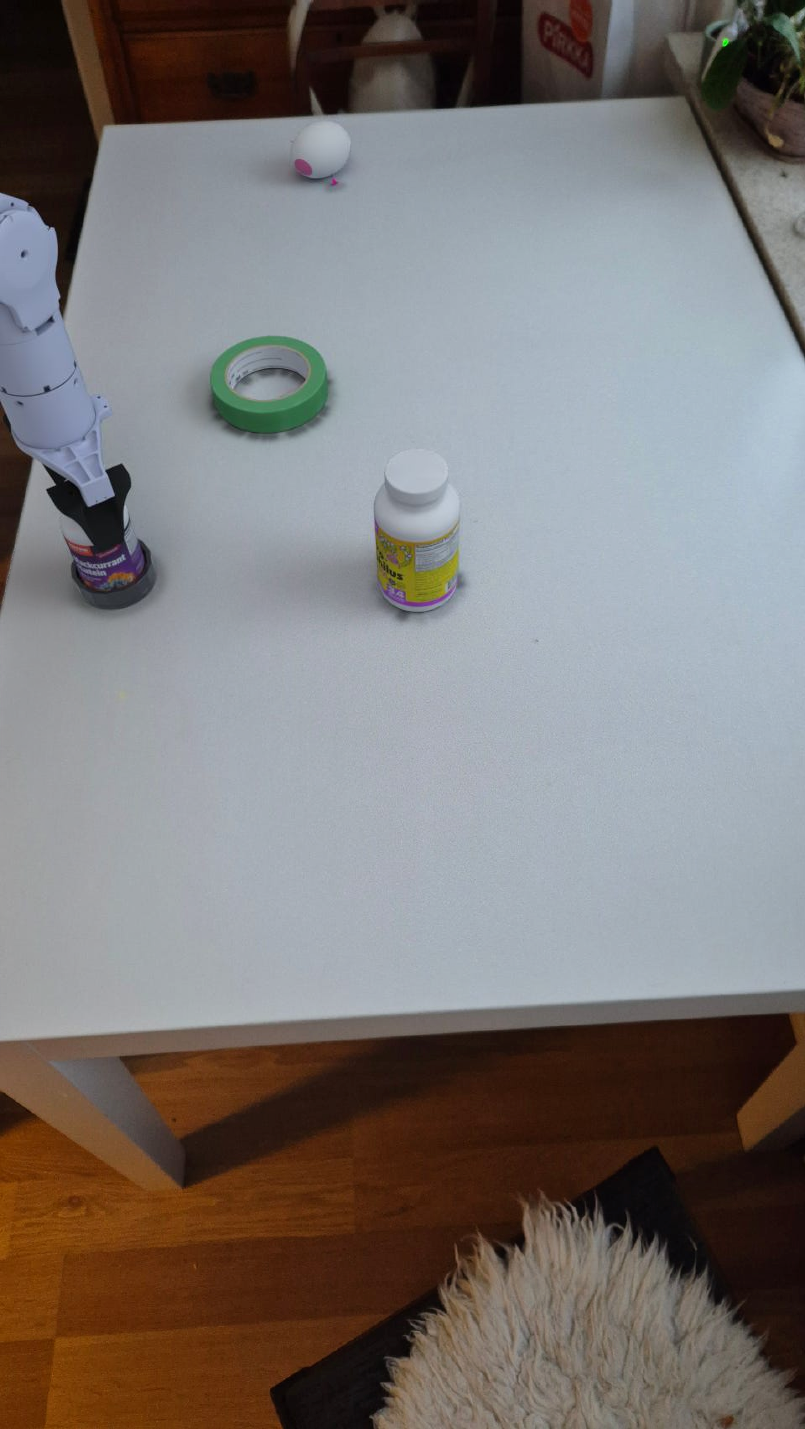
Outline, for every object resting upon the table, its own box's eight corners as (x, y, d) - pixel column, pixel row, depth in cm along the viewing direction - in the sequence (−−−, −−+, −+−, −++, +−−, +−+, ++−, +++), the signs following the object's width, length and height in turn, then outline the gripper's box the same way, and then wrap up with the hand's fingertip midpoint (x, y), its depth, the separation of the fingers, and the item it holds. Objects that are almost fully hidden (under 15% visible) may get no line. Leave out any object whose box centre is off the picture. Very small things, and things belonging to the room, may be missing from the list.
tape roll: (302, 443, 94) (299, 421, 92) (195, 420, 96) (189, 397, 94) (344, 370, 100) (342, 347, 97) (242, 349, 102) (238, 326, 100)
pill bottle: (80, 601, 83) (42, 518, 75) (87, 553, 86) (51, 467, 78) (145, 597, 83) (114, 514, 75) (150, 549, 86) (121, 463, 78)
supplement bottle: (367, 568, 85) (358, 451, 75) (440, 546, 87) (441, 428, 76) (394, 625, 82) (389, 512, 71) (470, 602, 83) (475, 487, 72)
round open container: (80, 616, 83) (73, 601, 82) (76, 558, 87) (69, 542, 85) (160, 600, 84) (154, 585, 82) (152, 544, 87) (147, 527, 86)
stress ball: (339, 184, 124) (319, 126, 121) (371, 169, 117) (350, 106, 115) (289, 204, 121) (266, 145, 119) (318, 189, 115) (295, 126, 112)
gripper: (132, 406, 65) (177, 550, 77) (50, 294, 72) (102, 441, 83) (29, 448, 63) (90, 589, 75) (-45, 328, 70) (21, 474, 81)
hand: (91, 514), depth 79 cm, fingers open, 7 cm apart
